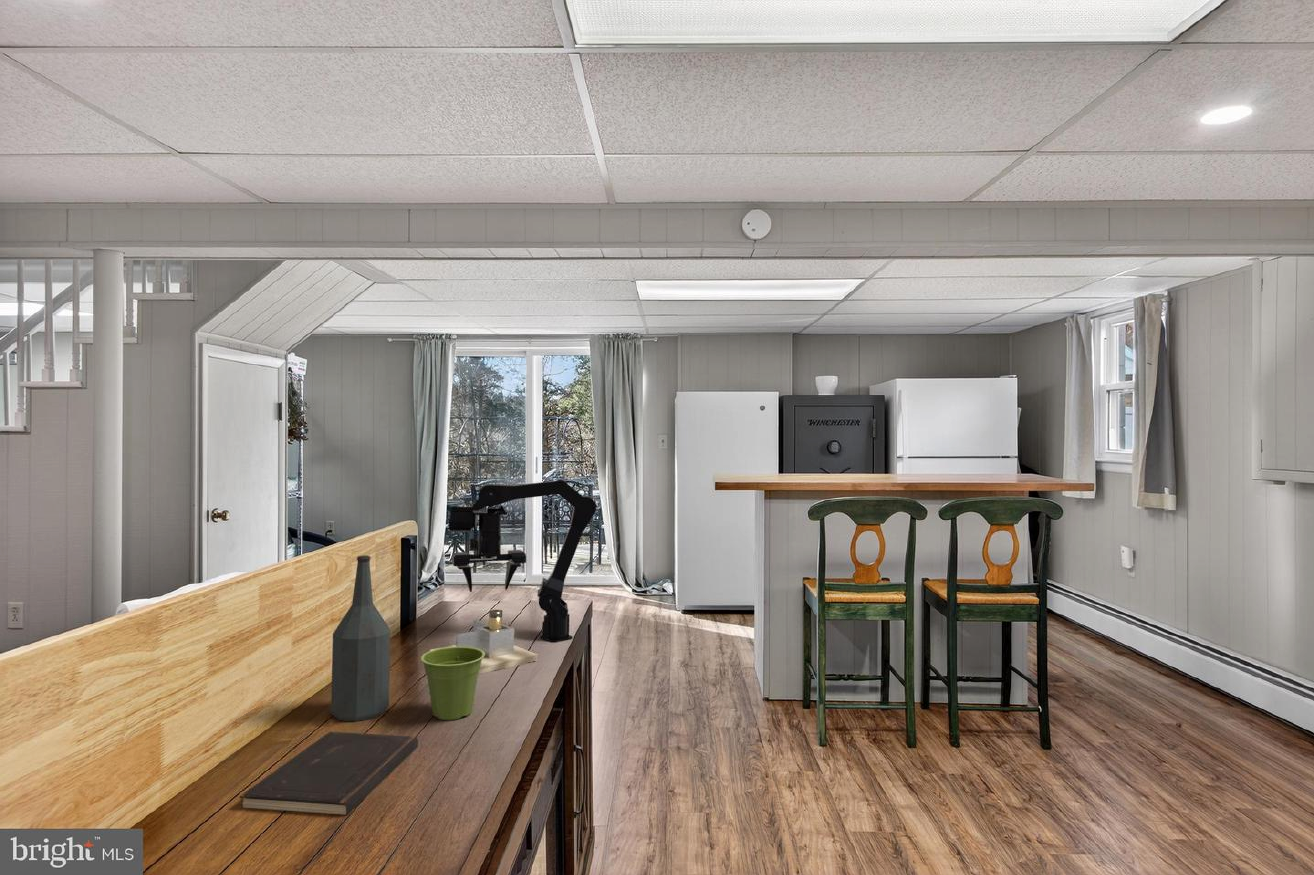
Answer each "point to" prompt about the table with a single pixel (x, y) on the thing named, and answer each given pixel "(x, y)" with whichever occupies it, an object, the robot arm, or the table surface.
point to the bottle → (361, 655)
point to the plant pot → (452, 680)
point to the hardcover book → (331, 773)
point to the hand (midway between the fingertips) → (488, 590)
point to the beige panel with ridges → (494, 647)
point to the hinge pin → (495, 620)
